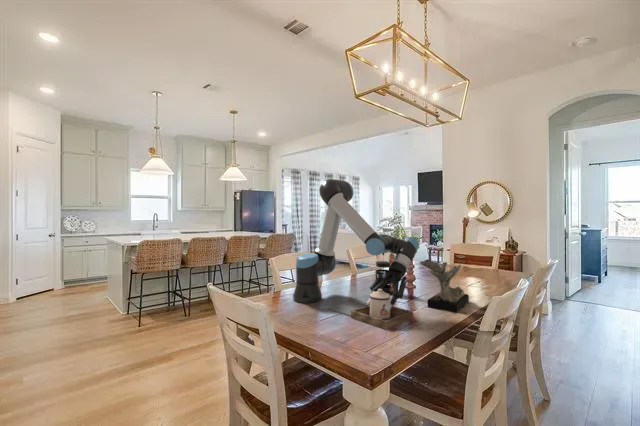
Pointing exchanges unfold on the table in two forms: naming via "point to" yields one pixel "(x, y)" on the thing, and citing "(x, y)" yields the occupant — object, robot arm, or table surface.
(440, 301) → the coral
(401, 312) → the wooden frame
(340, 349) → the table surface
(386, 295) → the teacup with lid
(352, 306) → the rubber mat
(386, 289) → the french press
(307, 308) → the table surface
